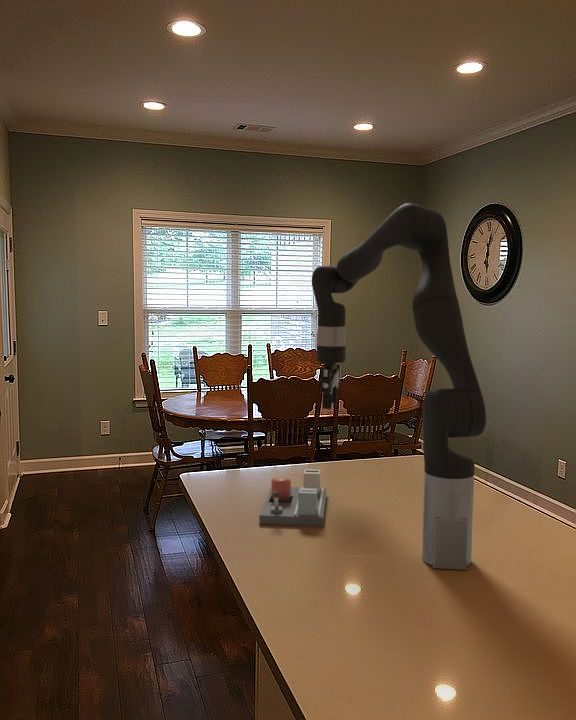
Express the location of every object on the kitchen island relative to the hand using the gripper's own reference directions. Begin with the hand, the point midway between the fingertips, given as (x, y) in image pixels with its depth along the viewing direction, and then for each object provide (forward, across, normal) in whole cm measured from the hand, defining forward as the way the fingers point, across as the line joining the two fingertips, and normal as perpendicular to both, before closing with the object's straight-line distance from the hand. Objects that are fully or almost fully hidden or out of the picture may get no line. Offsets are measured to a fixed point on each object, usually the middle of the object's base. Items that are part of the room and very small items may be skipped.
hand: (329, 405), depth 168 cm
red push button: (+19, -18, +8) cm, 28 cm away
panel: (+22, -19, +4) cm, 29 cm away
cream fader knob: (+20, -10, +2) cm, 23 cm away
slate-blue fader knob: (+20, -26, 0) cm, 33 cm away
